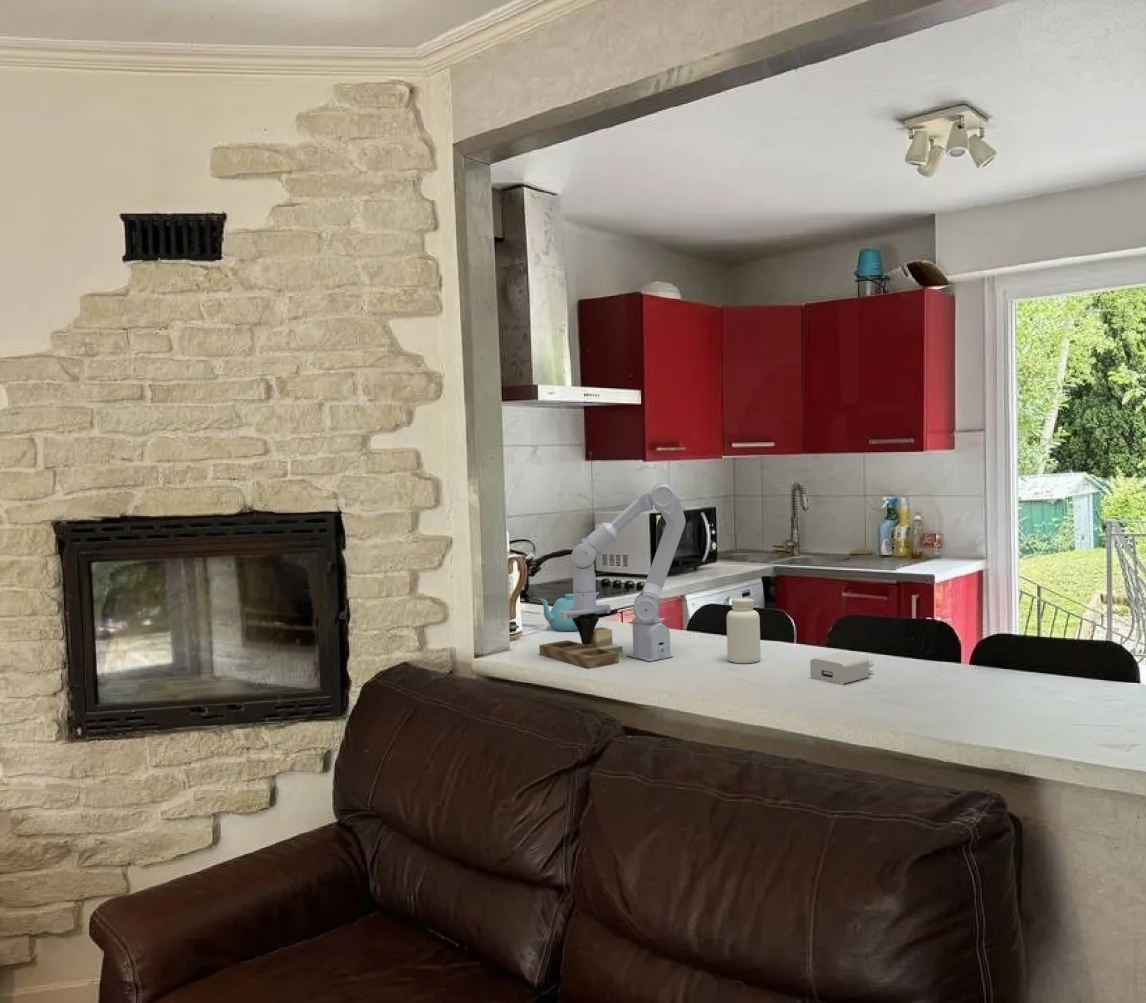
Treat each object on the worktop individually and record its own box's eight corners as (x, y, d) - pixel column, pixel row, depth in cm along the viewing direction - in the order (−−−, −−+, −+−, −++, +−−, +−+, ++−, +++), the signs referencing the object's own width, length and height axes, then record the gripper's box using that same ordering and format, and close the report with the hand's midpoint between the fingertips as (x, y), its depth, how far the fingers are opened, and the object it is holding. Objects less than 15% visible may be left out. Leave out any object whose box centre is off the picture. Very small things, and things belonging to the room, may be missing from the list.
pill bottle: (759, 656, 235) (757, 596, 234) (762, 664, 227) (760, 601, 226) (726, 657, 236) (725, 597, 235) (728, 664, 228) (727, 602, 227)
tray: (636, 659, 236) (635, 649, 236) (589, 668, 228) (588, 658, 228) (584, 646, 254) (584, 637, 254) (539, 654, 246) (539, 645, 246)
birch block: (612, 645, 243) (611, 629, 243) (596, 647, 240) (596, 632, 240) (600, 642, 247) (600, 627, 247) (585, 644, 244) (584, 629, 244)
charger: (886, 674, 214) (844, 686, 205) (852, 668, 221) (810, 678, 212) (886, 653, 213) (844, 664, 204) (851, 647, 221) (810, 657, 212)
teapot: (557, 623, 292) (556, 590, 291) (603, 624, 286) (602, 590, 286) (539, 632, 278) (537, 597, 278) (586, 633, 273) (585, 598, 272)
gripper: (598, 586, 248) (599, 638, 249) (552, 592, 240) (553, 645, 240) (614, 589, 242) (616, 641, 243) (567, 595, 234) (569, 650, 234)
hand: (586, 644), depth 241 cm, fingers closed
